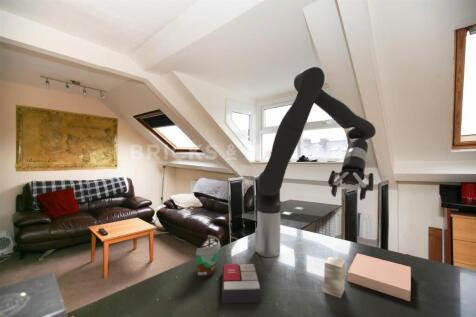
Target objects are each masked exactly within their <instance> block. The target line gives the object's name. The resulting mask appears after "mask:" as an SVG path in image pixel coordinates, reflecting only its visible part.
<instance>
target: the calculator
mask: <svg viewBox="0 0 476 317" xmlns="http://www.w3.org/2000/svg"><path fill="white" fill-rule="evenodd" d="M221 281H222V283H221V285H222V286H221V287H222V288H221V303H222V302H223V303H222V304H236V303H237V304H238V303H239V304H243V303H261V302H262V300H263V298H262V297H263V296H262V293H263V292H262V291H263V289H262V286H261V282H260V279H259V275H258V271H257V268H256V265H255V264H254V263H242V264H233V263H232V264H224V265H223V266H222V280H221Z"/></svg>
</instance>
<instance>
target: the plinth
mask: <svg viewBox="0 0 476 317" xmlns="http://www.w3.org/2000/svg"><path fill="white" fill-rule="evenodd" d="M411 271H412V267H411V266H407V265H403V264H400V263H396V262H393V261H388V260H384V259H380V258H377V257H374V256H369V255H365V254H361V253H356V255H355V257H354V259H353V261H352V262H351V264H350V266H349V269H348V271H347V282H350V283H353V284H355V285H359V286H362V287H363V288H368V289H371V290H374V291H378V292H381V293H383V294H386V295H388V296H393V297H396V298H398V299H401V300H405V301H407V302H411V291H412V290H411V289H412V288H411V287H412V284H411V282H412V281H411V280H412V279H411V278H412V277H411V276H412V275H411Z"/></svg>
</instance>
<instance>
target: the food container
mask: <svg viewBox="0 0 476 317" xmlns="http://www.w3.org/2000/svg"><path fill="white" fill-rule="evenodd" d="M220 249H221V243H220V240H219V238H218V237H216V236H214V235H209V234H208V235H207V238H206V240H205V241H204V242H202V243H201V246H200V247H197V248H196V252H195V256H196V264H197V265H196V266H197V277H198V278H205V277H210V276H212V275H214V274H215V273H217V271H218V261H219V260H218V259H219V251H220Z"/></svg>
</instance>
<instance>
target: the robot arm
mask: <svg viewBox="0 0 476 317" xmlns="http://www.w3.org/2000/svg"><path fill="white" fill-rule="evenodd" d="M325 80H326V77H325V73H324V70H323V69H322V68H320V67H319V66H311V67H308V68H305V69H304V70H302V71H301V72H298V73H297V75H296V76H294V79H293V86H294V88H295V91H296V92H297V94H296V97H295V99H294V101H293V103H292V104H291V105H290V107H289V108H288V109H287V111H286V113H285V114H284V116H283V118H282V119H281V121H280V123H279V125H278V128H277V131H276V133H275V136H274V139H273V143H272V148H271V152H270V156H269V159H268V161H267V164H266V165H265V168H264V170H263V171H262V172H260V174H259V175H258V177H257V198H256V200H257V204H256V205H257V206H256V207H257V211H256V212H257V216H256V217H257V219H256V220H257V221H256V222H257V225H256V226H257V227H256V228H255V229H254V230H255V232H254V233H255V234H254V249H255V250H254V252H255V253H257V254H258V255H259V256H261V257H265V258H275V257H278V256H280V254H281V208H282V207H281V188H282V184H283V182H284V179H285V174H286V171H287V168H288V165H289V163H290V161H291V159H292V157H293V155H294V153H295V152H296V149H297V146H298V144H299V143H300V139H301V137H302V135H303V132H304V129H305V126H306V124H307V121H308V118H309V116H310V114H311V112H312V109H313V107H314V104H315V105H316V106H317V107H319V108H320V109H321V110H323V111H324V113H326V114H327V115H328V116H329V117H330V118H331V119H333V121H335V122H336V124H338V126H339V127H341V129H343V130H344V129H348V131H347V132H346V138H347V147H346V148H347V149H346V153H345V155H344V158H343V162H342V167H341V170H340V172H336V171H335V170H331V172H330V175H329V178H328V181H327V183H328V186H329V187H330V188H331V191H330V193H331V196H332V197H334V198H335V197H336V196H337V194H338V188H339V187H342V186H344V185H347V186H348V185H349V186H350V185H351V186H356V185H357V187H359V188H360V190H359V191H360V193H359V201H363V200H364V199H366V197H367V196H366V194H367V192H373V191H374V180H375V179H374V174H373V172H370V173H368V174H367V173H366V174H365V170H366V169H365V168H366V165H367V159H368V158H367V157H368V156H367V154H368V150H369V149H368V148H369V144H368V142H367V141H366V140H369V139H371V138H373V137H375V134H376V132H377V130H376V127H375V125H373V123H371V122H370V121H368V120H367V119H365V118H363V117H361V116H359V115H357V114H356V113H355V112H353V110H351V109H350V108H349V106H348V105H346V104H345V103H344V102H342V101H341V100H339V99H338V98H335V97H334V96H332V95H330V94H328V93H327V92H326V91H325V90H324V89H323V87H324V85H325V84H324V83H325ZM365 179H366V181H368V184H367V185H366V184H365V182H364V181H363V180H365Z"/></svg>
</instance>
